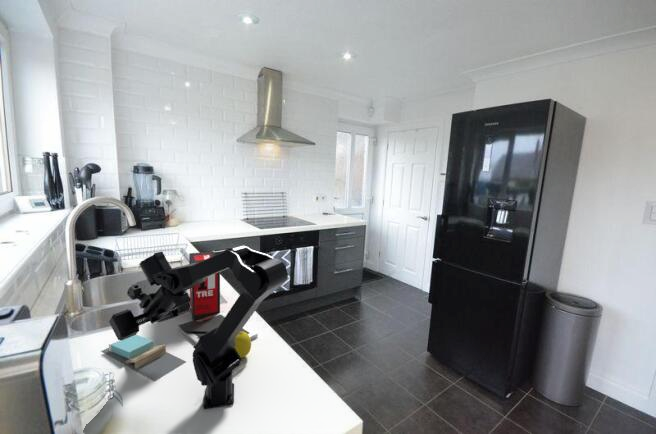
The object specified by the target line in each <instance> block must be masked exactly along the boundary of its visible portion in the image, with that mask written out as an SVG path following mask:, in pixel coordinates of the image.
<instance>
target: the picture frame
mask: <svg viewBox="0 0 656 434" xmlns="http://www.w3.org/2000/svg"><path fill="white" fill-rule="evenodd" d="M227 314H228V313H225V312H224V311H220V313H217V314H214V315H212V316H209V317H206V318H203V319H200V320H196V321H194V320H193V319H192V320H191V321H187V322H184V323H180V324H179V325H178V331H179V333H181V334H182V335H183V336H185V337H186V338H187V339H188V340H190V341H191V342H192V343H193V344H194V345H196V344H197V343H198V340H199V338H200V337H201V336H202V335H204V334H206V333H207V332H209V331H211V330H213V329H215V328H216V327H218V326H219V325H220V324H221V322H222V321H223V319H224V318H225V316H226V315H227ZM241 331H242V332H245V333H247V334H248V335H249V336H250V339H251V341H252V340H255V339H257V338H258V337H259V335H258V334H259V333H258V332H257V331H255V330H253V329H252V328H250V327H249V326H247V325H246V324H245V325H244V327H243V328H242V330H241ZM241 331H240V332H241Z"/></svg>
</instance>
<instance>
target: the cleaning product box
mask: <svg viewBox="0 0 656 434" xmlns="http://www.w3.org/2000/svg"><path fill="white" fill-rule="evenodd" d="M215 255H216V253H215V251H203V252H192V253H189V254H188V256H189V261H188V262H189V264H191V263H198V262H201V261H203V260H206V259H208V258H210V257H212V256H215ZM220 276H221V272H218V273H216V274H213V275H211V276H209V277H207V278H206V280H205V281H204V282H202V283H201V284H200V285H198V286H195V287H193V288H190V289H189V297H190V305H191V307H190V309H191V310H192V311H191V316H192V321H193V320H194V321H198V320H200V319H203V318H206V317H209V316H212V315H214V314H217V313H220V312H221V277H220Z"/></svg>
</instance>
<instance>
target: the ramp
mask: <svg viewBox="0 0 656 434" xmlns="http://www.w3.org/2000/svg"><path fill="white" fill-rule="evenodd" d="M154 346H155V345H154ZM166 347H167V346H166V344H160V345H156V346H155V347H154V348H152V349H150V350H148V351H146V352H144V353H142V354H140V355H138V356H136V357H134V358H132V359H129V360H127V361H126V363H127V364H128V363H133V362H135V368H136V369H138V368H140V367H142V366H143V365H145V364H147V363H149V362H151V361H153V360H154V359H156V358H158V357H160V356H162V355H164V354H165V353H166V352H167V351H166V349H167V348H166Z"/></svg>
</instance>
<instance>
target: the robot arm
mask: <svg viewBox="0 0 656 434" xmlns="http://www.w3.org/2000/svg"><path fill="white" fill-rule="evenodd" d="M139 267H140V268H141V271H142V273H143V275H144V277H146V279H144V280H143V279H142V280H140V281H137V282H136V283H133V284H132V285H131V286H130V287H129V288H127V294H126V295H127V296H128V297H129V298H130V299H131V300H132V301H134V300H138V301H140V303H138V306H139V307H140V309H143V311H142V312H143V313H141V314H139V315H136V316H134V314H133V312H132V310H131V309H124V310H122V311H120V312H116V313H113V314H112V315H111V317H110V318H109V320H108V322H109V324H110V327H111V328H112V330H113V333H114V334H115V337H116V338H117V340H121V341H122V340H124V339H127V338H129V337H131V336H134V335H137V334H138V333H139V331H140V326H143V325H145V324H147V323H149V322H150V323H151V325H153V324H155V323H161V322H165V321H167V320H170V319H174V318H177V317H179V316H182V315H183V314H185V313H187V312H188V311H189V310H190V309H191V304H190V294H189V293H188V292H187V291H188V290H190V288H193V287H195V286H198V285H200V284H201V283H202V282H204V281H205V280H206V278H207V277H209V276H211V275H213V274H216V273H218V272H220V273H221V272H223V271H225V270H231V271H232V274H233V275H234V278H235V280H236V281H237V282H239V283H240V287H241V292H240V294H239V296H238V297H237V299H236V300H235V301H234V303H233V304H232V306H231V307H230V309H229V311H228V312H227V313H226V314H227V315H226V316H225V318H224V319H223V321H222V322H221V324H220V325H219V326H218V327H216V328H215V329H213V330H211V331H209V332H207V333H206V334H204V335H202V336H201V337H200V338H199V340H198V343H197V344H194V346H192V348H193V352H192V363H193V364H192V365H193V367H194V370H195V375H196V380H197V381H200V383H201V384H200V385H201V386H203V387H205V386H206V388H205V391H204V392H205V393H204V398H203V404H202V408H203V409H204V410H205V409H211V408H212V409H213V408H217V407H222V406H224V407H225V406H229V405H233V404H234V403H235V383H234V382H233V371H234V370H236V369H237V368H238V367H240V365H241V363H242V358H241V357H240V356H239V354H238V352H237V351H236V349H235V348H234V347H235V344H236V343H235V338H236V336H237V335H238V334H239V332H240V331H241V330H242V328H243V327H244V325H245V326H246V324H247V323H248V321H249V320H250V318H251V317H252V316H253V314H254V313H255V311H256V310H257V309H258V307H259V306H260V305H261V303H262V302H263V301H264V300H265V299H266V298H268V297H269V296H270V295H271V294H273V293H274V292H275V291H276V290H277V289H279V288H280V287H281V286H282V285H284V283H285V282H287V279H288V277H289V273H288V269H287V267H286V265H285V263H284V262H283V261H282V260H281V259H279V258H275V257H273V256H271V255H270V254H268V253H267V254H266V253H264V252H260V251H258V250H254V249H252V248H250V247H249V246H246V245H243V244H240V245H239V244H238V245H236V246H235V245H234V246H232V247H228V248H225V250H224V251H221V252H220V253H218V254H215V256H212V257H210V258H208V259H206V260H203V261H201V262H198V263H191V264H190V263H189V264H185V265H180V266H175V267H172V266H171V264H170V263H169V261H168V259H167V258H166V256H165V253H164V252H163V251H158V252H154V253H153V254H152V255H150V256H148V257H146V258H145V259H143V260H142V261H140V262H139Z"/></svg>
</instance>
